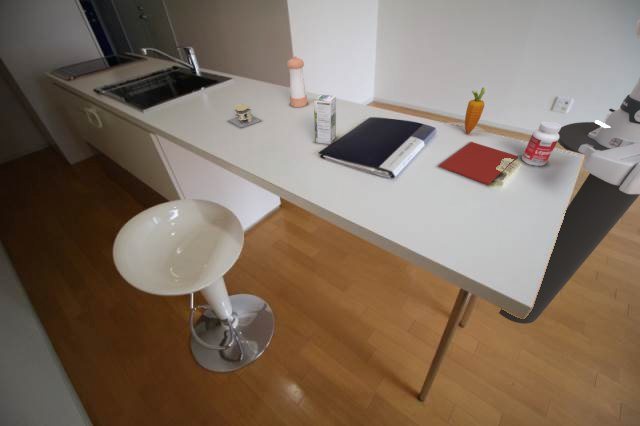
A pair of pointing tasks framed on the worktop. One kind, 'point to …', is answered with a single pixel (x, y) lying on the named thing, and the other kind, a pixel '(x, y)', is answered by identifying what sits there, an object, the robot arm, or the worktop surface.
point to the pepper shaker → (297, 82)
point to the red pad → (476, 162)
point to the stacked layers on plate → (243, 116)
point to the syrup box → (325, 118)
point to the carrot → (474, 111)
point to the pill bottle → (542, 143)
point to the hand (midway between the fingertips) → (597, 143)
